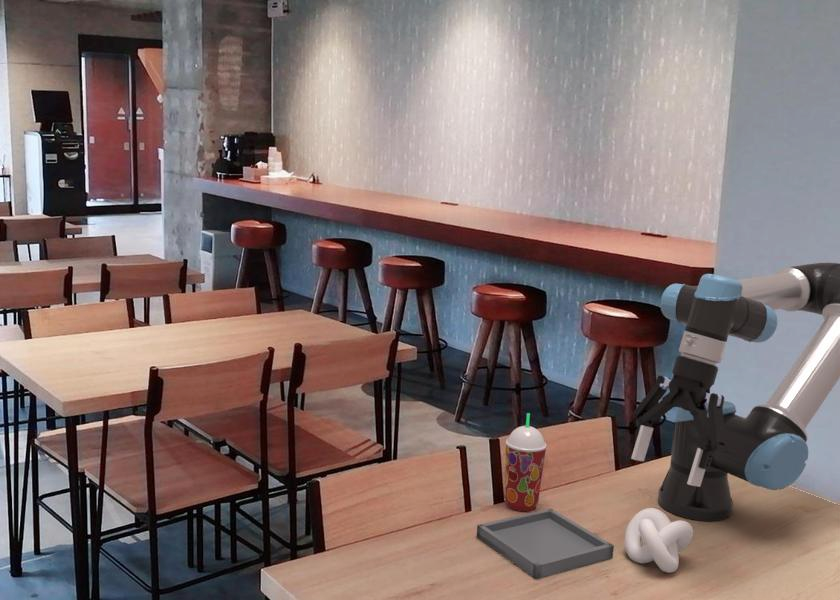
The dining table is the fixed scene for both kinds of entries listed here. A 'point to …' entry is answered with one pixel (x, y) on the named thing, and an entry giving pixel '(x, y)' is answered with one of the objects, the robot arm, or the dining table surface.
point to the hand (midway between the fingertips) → (664, 472)
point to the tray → (544, 543)
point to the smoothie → (524, 467)
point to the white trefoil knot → (657, 539)
